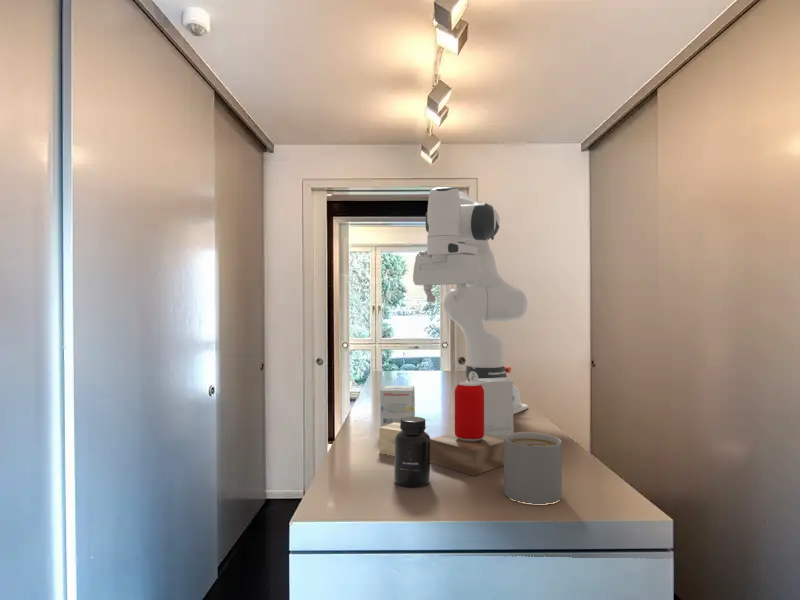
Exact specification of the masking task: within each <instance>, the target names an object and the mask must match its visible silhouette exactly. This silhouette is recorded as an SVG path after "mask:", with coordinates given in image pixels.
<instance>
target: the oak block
mask: <svg viewBox="0 0 800 600" xmlns="http://www.w3.org/2000/svg"><path fill="white" fill-rule="evenodd" d="M400 431H401V429H400V423H395V422H394V423H391V424H388V425H385V426H382V427H381V426H380V427H379V453H381V454H380V455H383V454H387V455H386V456H388V455H392V456H391V457H393V456H395V437H396V435H397V434H398V433H399V432H400Z"/></svg>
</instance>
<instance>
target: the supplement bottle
mask: <svg viewBox="0 0 800 600" xmlns="http://www.w3.org/2000/svg"><path fill="white" fill-rule="evenodd" d="M426 427H427V426H426V418H424V417H422V416H421V417H420V416H415V417H403V418H401V420H400V429H401V431H400V432H399V433H398V434H397V435H396V437H395V457H394V459H393V460H394V461H393V463H394V469H393V470H394V471H393V473H394V474H393V475H394V476H393V479H394V482H395V483H396V484H397V485H399V486H400V487H401V486H402V487H406V488H420V487H423V486H426V485H428V483H430V478H431V477H430V476H431V463H430V439H431V437H430V435H429V434H428V433H427V432H426Z"/></svg>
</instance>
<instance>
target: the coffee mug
mask: <svg viewBox="0 0 800 600" xmlns="http://www.w3.org/2000/svg"><path fill="white" fill-rule="evenodd" d="M562 443H563V442H562V440H561V438H559V437H558V436H555V435H551V434H548V433H542V432H537V431H535V432H534V431H518V432H517V431H516V432H514V433H510V434H507V435H506V436H505V437H504V466H503V495H504V494H505V495H506V496H507V497H509V498H511V499H513V500H516V501H520V502H525V503H532V504H546V503H553V502H556V501H558V500H560V499H561V497H562V496H563V495H562V493H563V492H562V486H563V485H562V483H563V481H562V480H563V478H562V475H563V474H562V472H563V471H562V469H563V468H562V467H563V466H562V463H563V461H562V457H563V455H562V454H563V453H562V452H563V450H562V447H563V445H562ZM505 495H504V496H505ZM506 496H505V497H506ZM507 497H506V498H507ZM561 500H562V499H561Z"/></svg>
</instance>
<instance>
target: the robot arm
mask: <svg viewBox="0 0 800 600" xmlns="http://www.w3.org/2000/svg"><path fill="white" fill-rule="evenodd" d="M427 203H428V204H427V212H425V231H426V233H427V237H426V238H427V241H426V244H427V245H426V248H427V249H426V250H424V251H423V250H421V251H419V252H418V254H416V255H415V261H414V265H413V274H412V282H413V284H414V285H415V286H423V291H424V293H425V295H426V302H427V303H435V302H436V295H434V294H433V291H432V290H433V288H434V287H433V286H439V285H440V286H445V285H456V287H455V288H451V289H449V290H448V291H447V293H446V294H445V296H444V299H443V308H444V312H445V315H447V317H448V318H449V319H451V320H452V321H453V322H454V323H455V324H456V325H457V326H458V327H459V328H460V330H461V331H462V334H463V335H464V338H465V342H466V343H465V344H466V345H465V346H466V353H467V354H466V355H467V360H466V361H467V365H465V377H466V380H465V382H477V378H502V377H507V378H508V375H507V374H511V373H512V367H511V366H505V365H504V343H503V341H502V339H501V338H500V336H498V335H496V334H494V333H493V332H490V331H488V330H486V329H485V327H484V323H485V322H511V321H516V320H520V319H522V317H524V315H525V313H526V312H527V308H528V299H527V296H526V294H525V293H524V291H523V290H522V289H520V288H519V287H516V286H513V285H511V284H509V283H508V282H507V281H505V280H504V279H503V278H502V277H501V276H500V274H499V272H498V268H497V265H496V261H495V256H494V254H493V251H492V249H491V248H490V245H489V240H491V241H493V240H494V239H495V235H497V234H498V231H499V229H500V220H501V219H500V216H499V212H497V210H496V209H495V208H494V207H493V206H492V205H491V204H489V203H487V202H480V201H477V200H475V199H472V197H471V196H469V194H467V193H466V192H463V191H459V189H458V188H456V187H454V186H453V187H452V186H451V187H449V186H447V187H446V186H445V187H434V188H432V189H430V191H429V194H428V201H427ZM528 408H529V405H528V404H526V403H523V402H521V392H520V390H519V388H518V387H517V386H515V385H514V384H513V415H515V414H518V413H520V412H522V411H524V410H527V409H528Z"/></svg>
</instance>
